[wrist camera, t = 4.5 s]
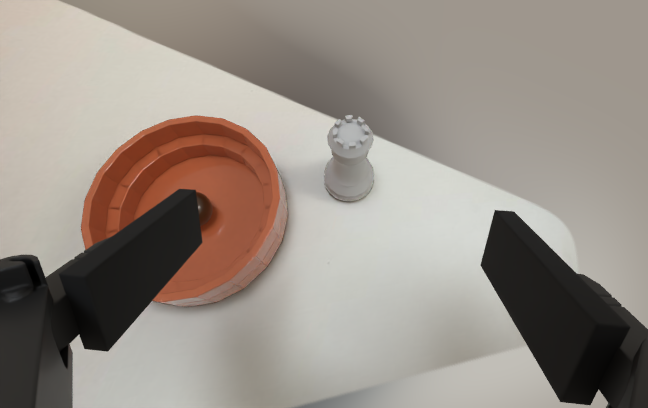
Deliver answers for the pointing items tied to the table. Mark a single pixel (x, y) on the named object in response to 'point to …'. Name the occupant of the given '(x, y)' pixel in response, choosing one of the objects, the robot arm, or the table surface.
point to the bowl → (207, 178)
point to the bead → (204, 208)
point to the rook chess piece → (349, 160)
